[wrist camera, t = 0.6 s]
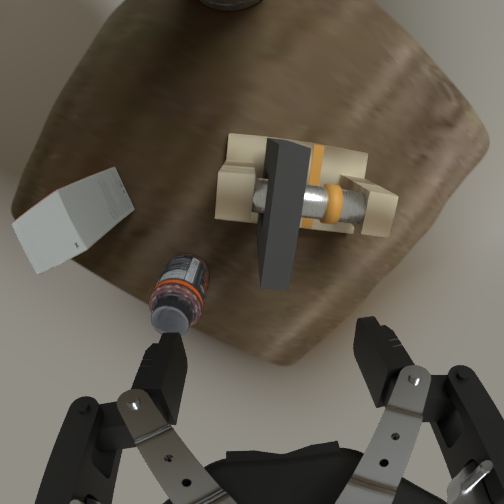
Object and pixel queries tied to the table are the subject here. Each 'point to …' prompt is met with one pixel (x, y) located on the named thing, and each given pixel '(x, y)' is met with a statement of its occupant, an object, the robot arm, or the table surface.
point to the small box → (72, 219)
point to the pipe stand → (317, 188)
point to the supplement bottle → (179, 294)
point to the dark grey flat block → (281, 211)
